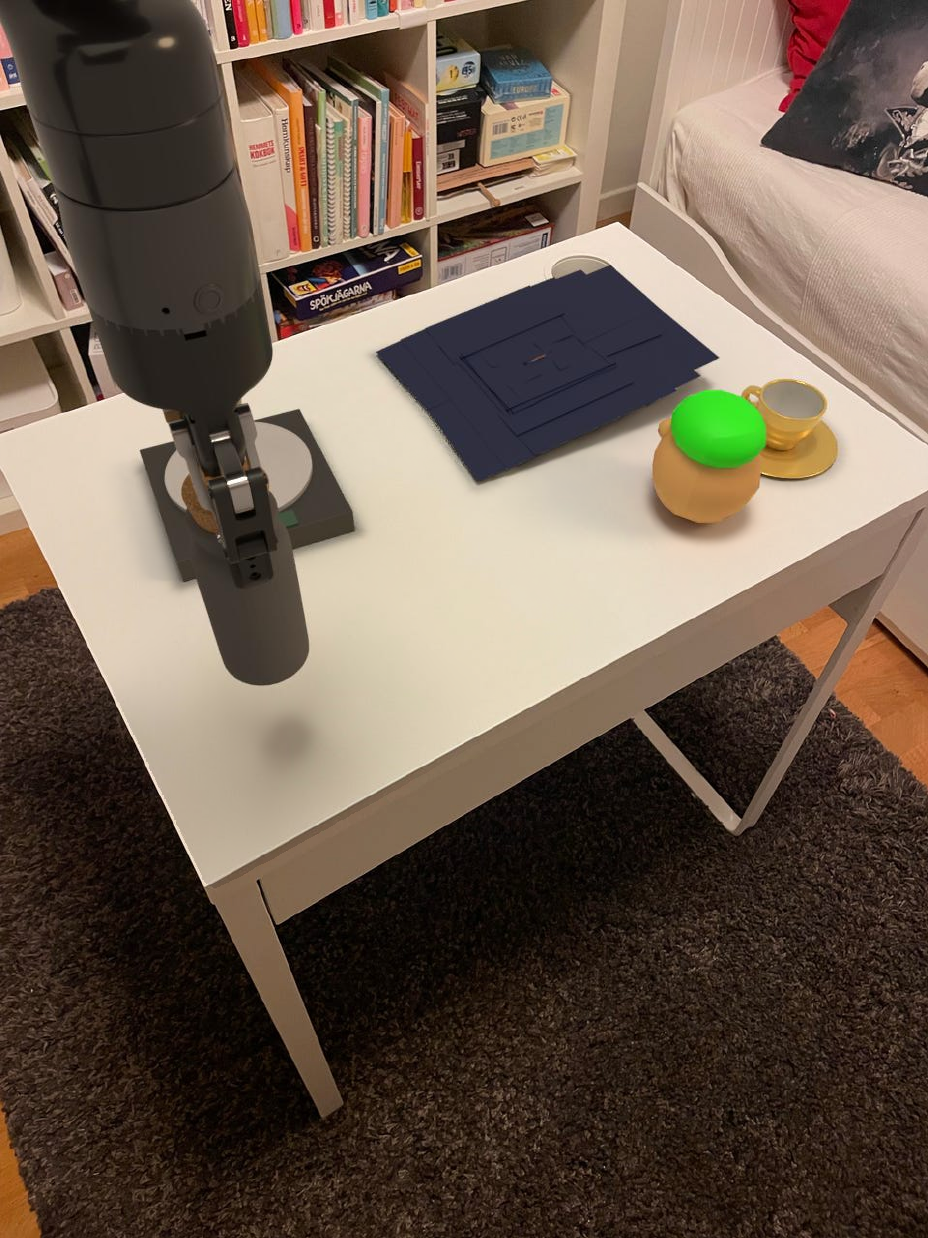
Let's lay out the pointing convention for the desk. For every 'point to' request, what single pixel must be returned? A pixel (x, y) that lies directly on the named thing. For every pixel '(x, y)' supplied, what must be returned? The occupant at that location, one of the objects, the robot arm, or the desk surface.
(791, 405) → the cup
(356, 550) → the desk surface
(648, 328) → the papers
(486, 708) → the desk surface
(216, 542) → the bottle
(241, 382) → the robot arm
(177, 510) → the scale
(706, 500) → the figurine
